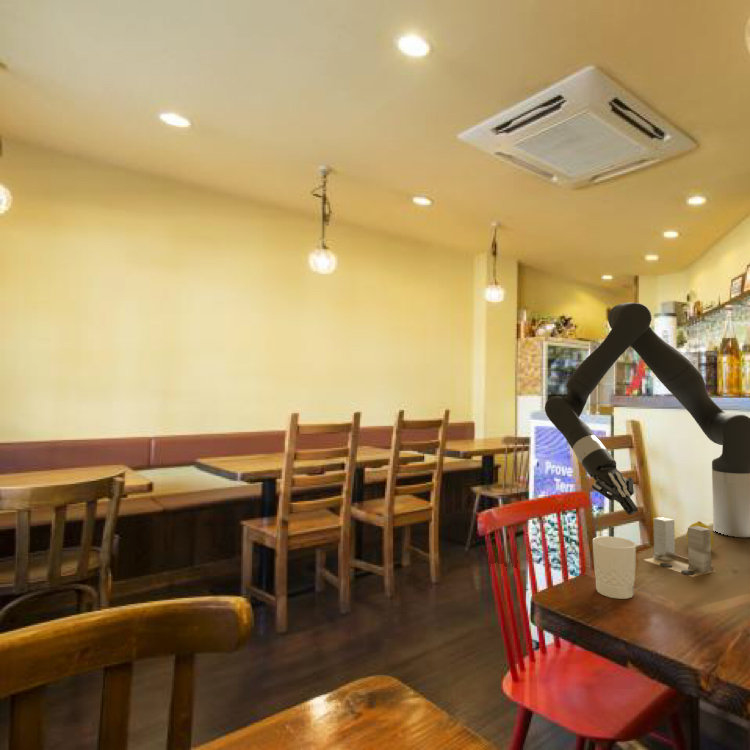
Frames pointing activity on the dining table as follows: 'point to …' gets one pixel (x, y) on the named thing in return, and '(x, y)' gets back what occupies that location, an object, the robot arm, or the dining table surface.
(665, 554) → the block
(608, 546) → the white cup
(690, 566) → the gauge board
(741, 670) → the dining table surface
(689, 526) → the lemon
